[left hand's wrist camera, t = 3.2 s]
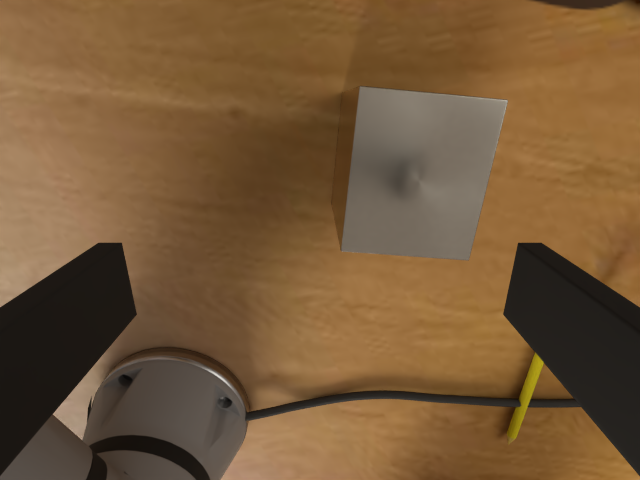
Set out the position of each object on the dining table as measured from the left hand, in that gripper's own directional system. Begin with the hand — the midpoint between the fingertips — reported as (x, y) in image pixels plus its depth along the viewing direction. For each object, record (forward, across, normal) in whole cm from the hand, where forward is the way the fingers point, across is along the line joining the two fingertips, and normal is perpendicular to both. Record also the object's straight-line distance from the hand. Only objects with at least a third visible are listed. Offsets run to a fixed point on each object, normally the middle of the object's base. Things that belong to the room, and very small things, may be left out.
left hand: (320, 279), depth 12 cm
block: (+20, -5, -1) cm, 20 cm away
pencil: (+20, -22, +22) cm, 37 cm away
